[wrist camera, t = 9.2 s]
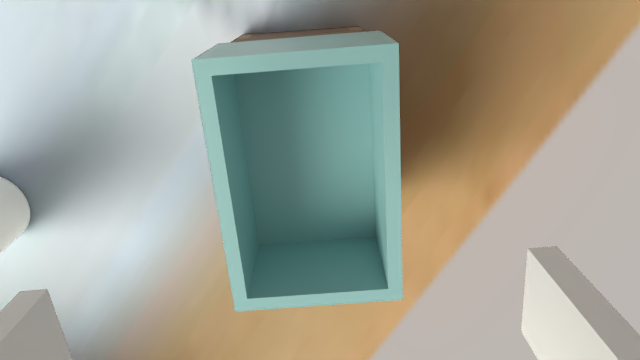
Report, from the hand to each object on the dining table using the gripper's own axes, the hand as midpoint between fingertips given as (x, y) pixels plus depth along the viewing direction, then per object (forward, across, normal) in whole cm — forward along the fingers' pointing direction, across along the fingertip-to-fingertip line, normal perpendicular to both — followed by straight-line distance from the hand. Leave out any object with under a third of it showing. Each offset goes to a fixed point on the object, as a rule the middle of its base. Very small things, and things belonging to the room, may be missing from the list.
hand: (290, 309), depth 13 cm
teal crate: (+16, 0, 0) cm, 16 cm away
